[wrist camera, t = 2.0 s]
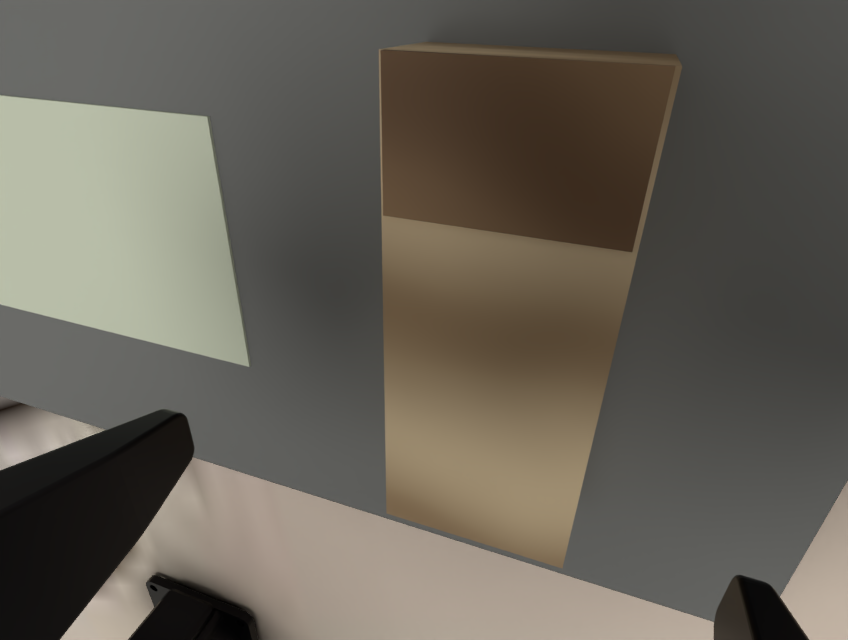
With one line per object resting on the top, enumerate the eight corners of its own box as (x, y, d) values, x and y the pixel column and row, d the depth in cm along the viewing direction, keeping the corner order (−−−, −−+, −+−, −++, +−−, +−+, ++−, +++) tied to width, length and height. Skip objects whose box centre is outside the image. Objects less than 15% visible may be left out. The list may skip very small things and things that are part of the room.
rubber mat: (754, 620, 17) (757, 638, 16) (2, 387, 26) (-10, 395, 25) (1227, -218, 7) (1267, -233, 7) (-232, -124, 16) (-259, -129, 16)
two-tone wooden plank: (573, 498, 16) (561, 573, 14) (416, 455, 18) (384, 517, 16) (676, 54, 10) (682, 67, 8) (426, 41, 12) (375, 50, 10)
